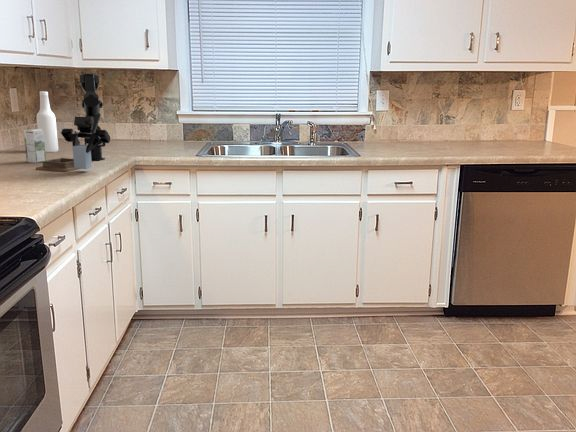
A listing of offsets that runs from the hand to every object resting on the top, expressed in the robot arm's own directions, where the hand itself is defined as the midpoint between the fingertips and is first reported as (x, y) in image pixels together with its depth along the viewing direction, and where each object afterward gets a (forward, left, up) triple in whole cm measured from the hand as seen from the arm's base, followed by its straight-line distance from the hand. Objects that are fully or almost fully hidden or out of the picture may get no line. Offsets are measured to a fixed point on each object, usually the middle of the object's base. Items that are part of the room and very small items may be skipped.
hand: (80, 152), depth 206 cm
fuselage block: (-1, 0, -7) cm, 7 cm away
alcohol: (-47, -51, -8) cm, 70 cm away
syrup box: (-16, -34, -8) cm, 39 cm away
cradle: (-6, -13, -8) cm, 17 cm away
